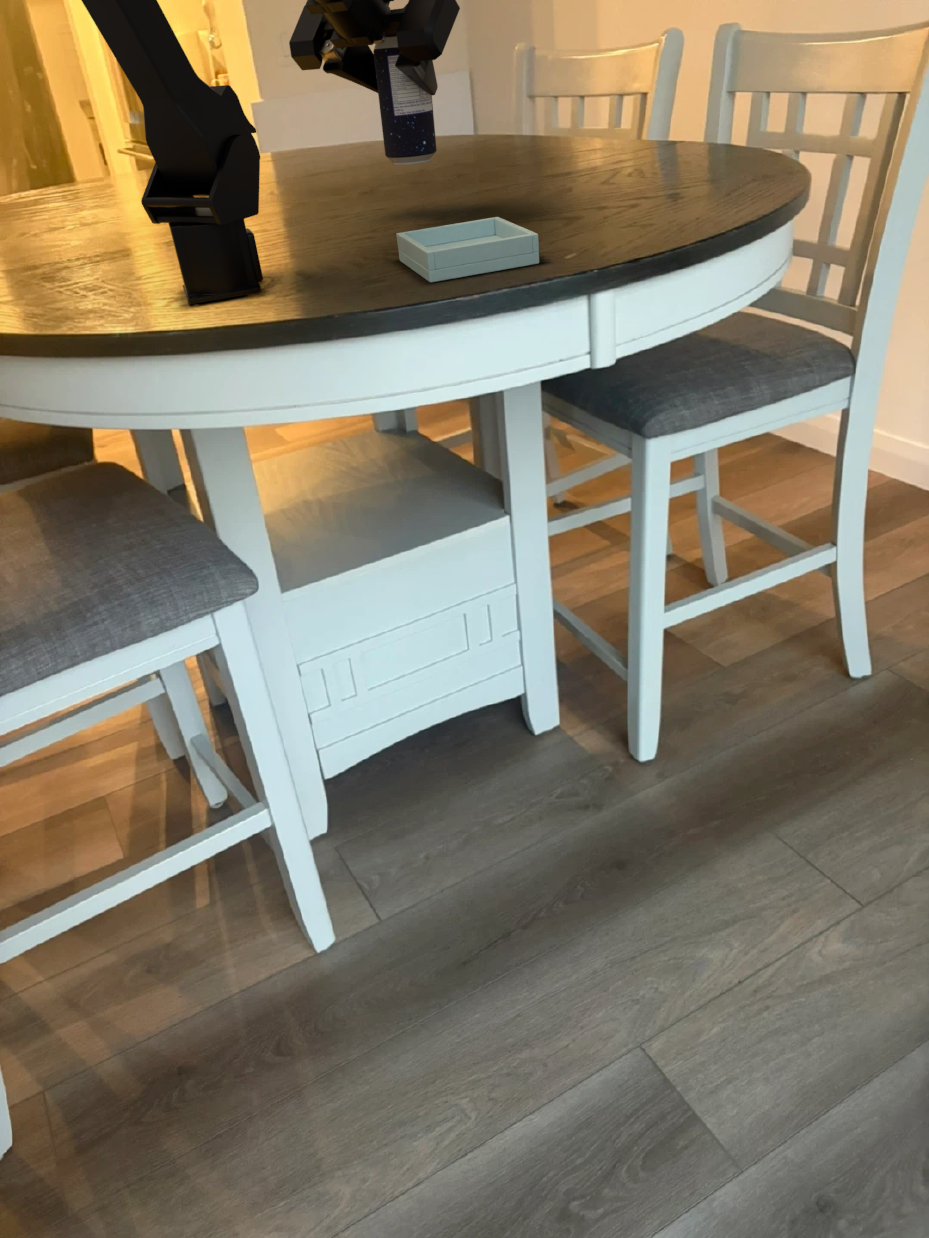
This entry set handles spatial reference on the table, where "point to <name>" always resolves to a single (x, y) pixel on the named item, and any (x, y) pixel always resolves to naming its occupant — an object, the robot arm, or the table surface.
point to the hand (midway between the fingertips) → (413, 93)
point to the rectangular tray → (467, 248)
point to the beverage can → (403, 110)
